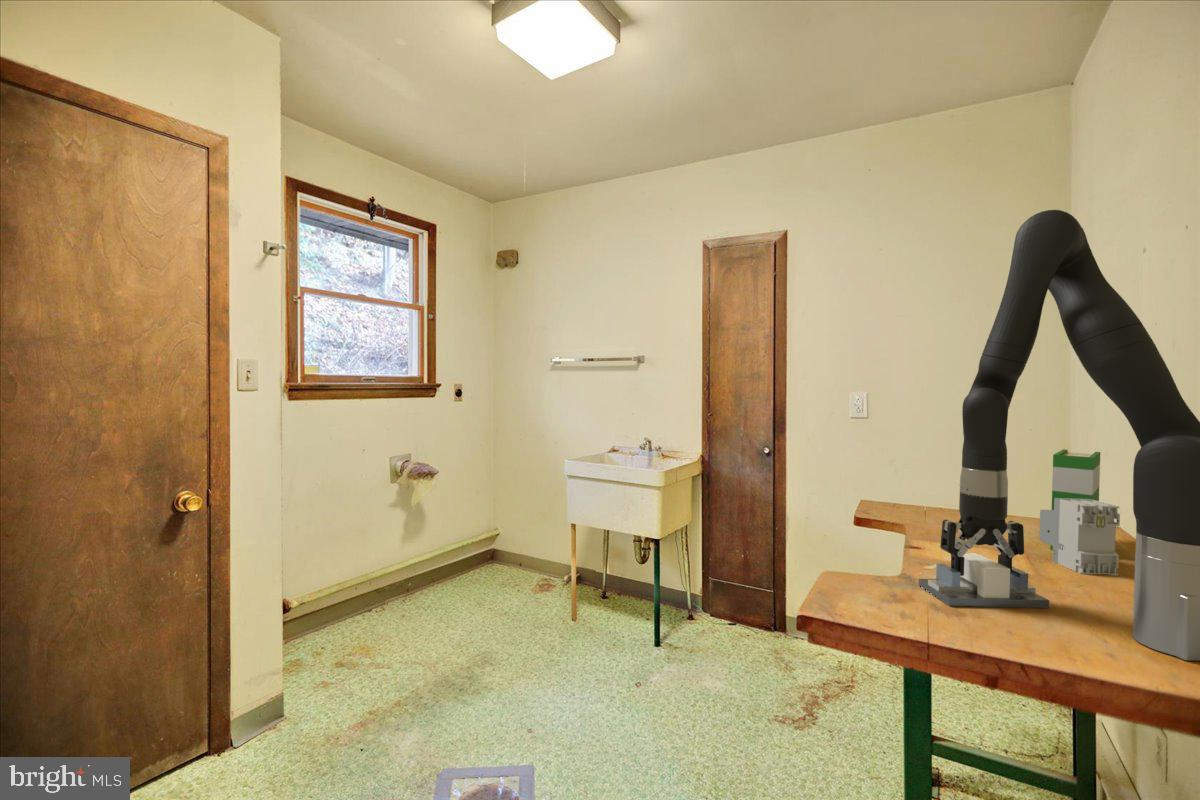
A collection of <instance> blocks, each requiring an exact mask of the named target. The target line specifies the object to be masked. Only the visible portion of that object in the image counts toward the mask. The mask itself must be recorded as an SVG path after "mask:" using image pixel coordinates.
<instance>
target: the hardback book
mask: <svg viewBox="0 0 1200 800" xmlns="http://www.w3.org/2000/svg"><path fill="white" fill-rule="evenodd" d="M1068 450H1069V449H1061V450H1059V451H1057V452H1056V453H1054V454H1053V456H1052V482H1051V483H1052V485H1051V486H1052V488H1051V510H1054V498H1072V499H1092V500H1096V501H1100V480H1101V479H1100V477H1101V452H1100V451H1094V452H1093V453H1085V452H1084V453H1082V452H1071V451H1070V452H1069V451H1068ZM1049 549H1050V551H1052V550H1053V546H1052V545H1050V548H1049Z"/></svg>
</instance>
